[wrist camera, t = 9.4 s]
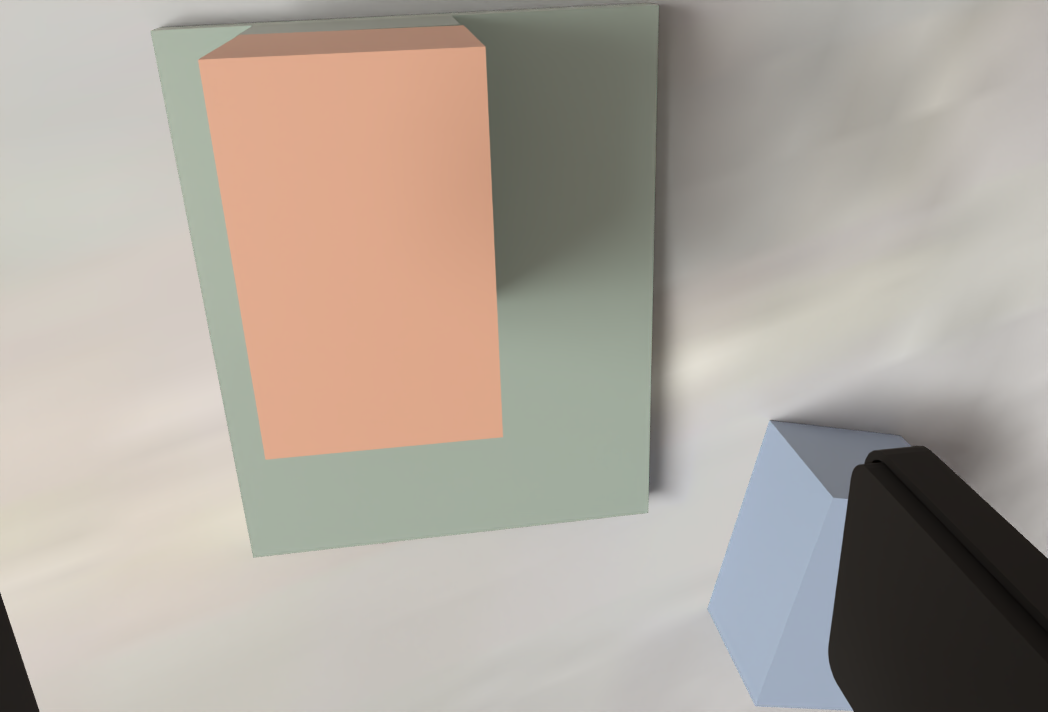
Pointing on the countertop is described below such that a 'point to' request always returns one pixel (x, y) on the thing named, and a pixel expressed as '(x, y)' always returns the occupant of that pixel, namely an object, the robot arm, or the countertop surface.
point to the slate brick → (790, 563)
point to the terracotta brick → (360, 234)
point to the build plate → (521, 284)
